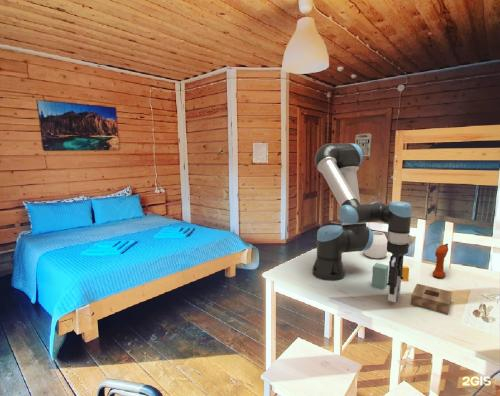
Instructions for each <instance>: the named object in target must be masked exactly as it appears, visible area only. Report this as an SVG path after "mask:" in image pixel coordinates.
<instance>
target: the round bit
mask: <svg viewBox="0 0 500 396" xmlns="http://www.w3.org/2000/svg"><path fill="white" fill-rule="evenodd" d="M399 285H400V276H399V275H398V276H397V283H396V286H397V293H396V302H399V297H400V295H399ZM396 302H395V303H396Z"/></svg>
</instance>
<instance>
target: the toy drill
mask: <svg viewBox="0 0 500 396" xmlns="http://www.w3.org/2000/svg"><path fill="white" fill-rule="evenodd" d="M448 245H449V243H445V244H444V243H443V244H440V245H439V246H438V247H437V248H436V250H435V255H434V256H435V257H436V261H435V262H436V263H435V268H434V270H433V271H432V276H433V277H437V278H442V279H443V278H445V277H446V273H445V272H444V263H445V258H446V256H447V254H448V252H449V246H448Z"/></svg>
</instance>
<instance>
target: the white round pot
mask: <svg viewBox="0 0 500 396" xmlns="http://www.w3.org/2000/svg"><path fill="white" fill-rule="evenodd" d="M371 231H372V232H373V243H372V245H371V247H370V248H369V249H368V250H364V251H362V252H363V254H365V256H367V257H368V258H372V259H377V260H378V259H383V258H385V257H386V256H387V254H388V252H389V251H387V242H388V240H387V236H386V234H385V233H384V232H382V231H376V230H375V231H374V230H371Z"/></svg>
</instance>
